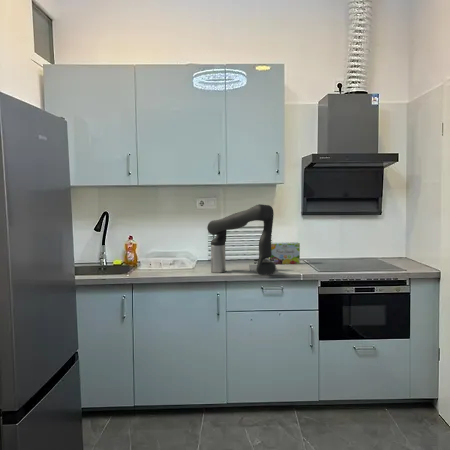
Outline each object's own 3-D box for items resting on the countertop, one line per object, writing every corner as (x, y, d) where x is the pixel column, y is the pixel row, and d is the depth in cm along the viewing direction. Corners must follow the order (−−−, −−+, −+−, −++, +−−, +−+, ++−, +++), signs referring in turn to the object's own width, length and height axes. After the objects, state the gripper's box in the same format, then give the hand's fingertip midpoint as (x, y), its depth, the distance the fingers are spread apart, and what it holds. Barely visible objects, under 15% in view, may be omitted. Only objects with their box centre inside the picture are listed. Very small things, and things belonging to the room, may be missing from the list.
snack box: (270, 264, 300) (270, 243, 299) (268, 263, 305) (268, 242, 304) (299, 264, 301) (299, 242, 300) (298, 262, 307) (297, 241, 306)
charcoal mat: (249, 272, 270) (249, 271, 270) (249, 265, 298) (249, 264, 298) (278, 272, 269) (278, 271, 269) (275, 265, 297) (275, 264, 297)
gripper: (275, 257, 254) (273, 253, 271) (253, 257, 255) (253, 253, 272) (275, 269, 255) (274, 265, 272) (253, 270, 255) (253, 265, 273)
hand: (263, 259), depth 272 cm, fingers closed
